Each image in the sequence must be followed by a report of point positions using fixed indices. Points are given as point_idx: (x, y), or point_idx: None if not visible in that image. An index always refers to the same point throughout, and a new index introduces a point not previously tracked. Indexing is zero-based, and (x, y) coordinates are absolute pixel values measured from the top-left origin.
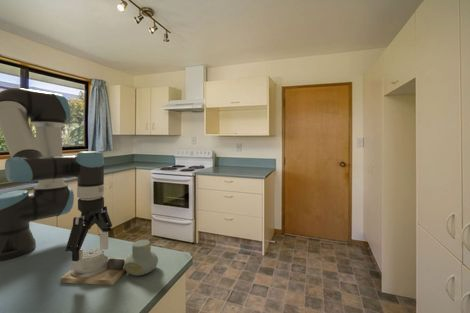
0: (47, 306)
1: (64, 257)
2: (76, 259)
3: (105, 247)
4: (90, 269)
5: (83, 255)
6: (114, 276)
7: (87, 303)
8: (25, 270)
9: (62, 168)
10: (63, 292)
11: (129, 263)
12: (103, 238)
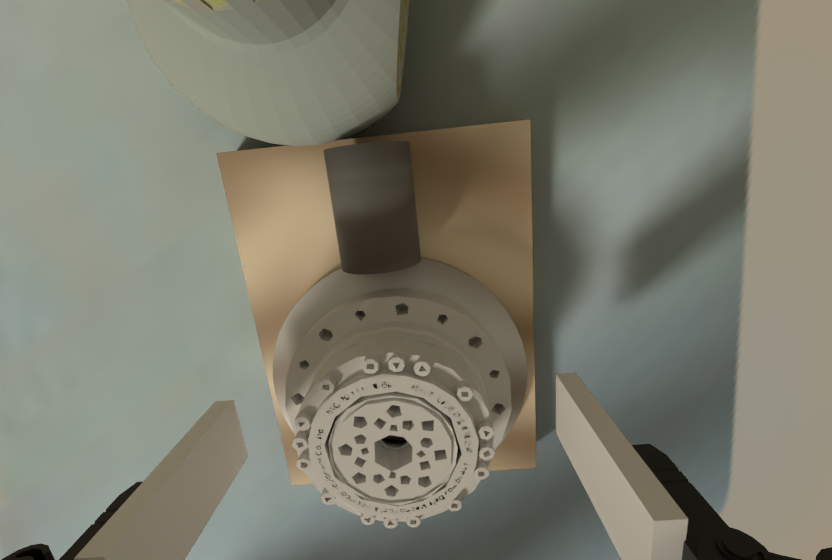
0: (723, 357)
1: None
2: (666, 460)
3: (227, 424)
4: (493, 341)
5: (442, 484)
6: (481, 142)
7: (706, 164)
8: None
9: None
10: (610, 368)
11: (399, 26)
12: (179, 514)
